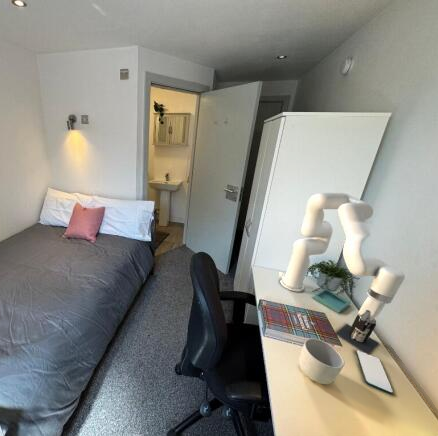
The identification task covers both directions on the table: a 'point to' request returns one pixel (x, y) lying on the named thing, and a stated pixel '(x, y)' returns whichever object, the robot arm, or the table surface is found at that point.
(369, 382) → the smartphone
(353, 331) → the beverage can
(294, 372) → the table surface
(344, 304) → the tray
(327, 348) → the planter
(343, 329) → the mat
